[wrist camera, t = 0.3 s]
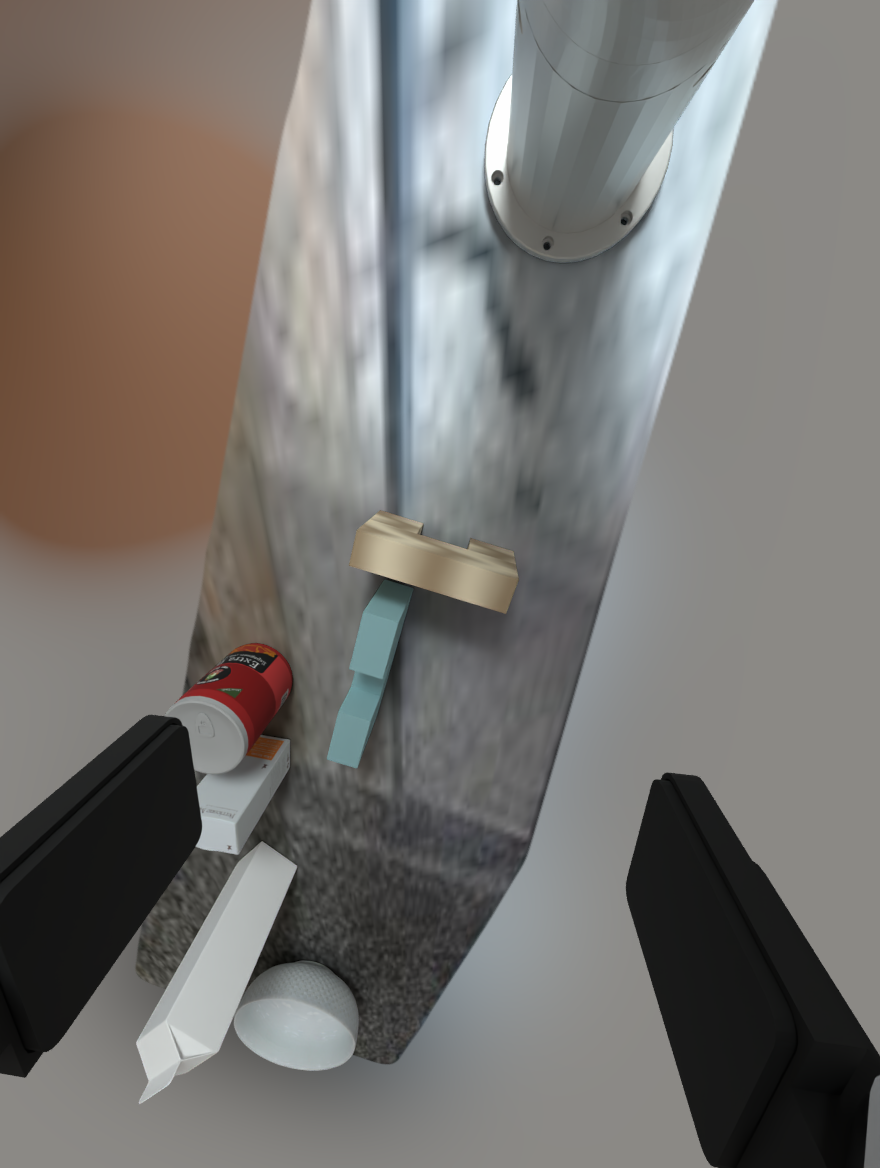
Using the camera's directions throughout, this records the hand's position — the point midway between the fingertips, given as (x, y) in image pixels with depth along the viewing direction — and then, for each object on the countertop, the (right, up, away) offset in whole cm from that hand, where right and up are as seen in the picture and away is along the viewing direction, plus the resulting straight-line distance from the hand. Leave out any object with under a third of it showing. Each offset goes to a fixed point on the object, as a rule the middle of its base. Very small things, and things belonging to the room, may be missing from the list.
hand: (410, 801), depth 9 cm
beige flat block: (+1, +8, +34) cm, 35 cm away
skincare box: (-20, -15, +45) cm, 51 cm away
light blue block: (-6, -3, +38) cm, 39 cm away
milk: (-22, -33, +51) cm, 65 cm away
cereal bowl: (-18, -54, +59) cm, 82 cm away
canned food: (-19, -5, +41) cm, 46 cm away
